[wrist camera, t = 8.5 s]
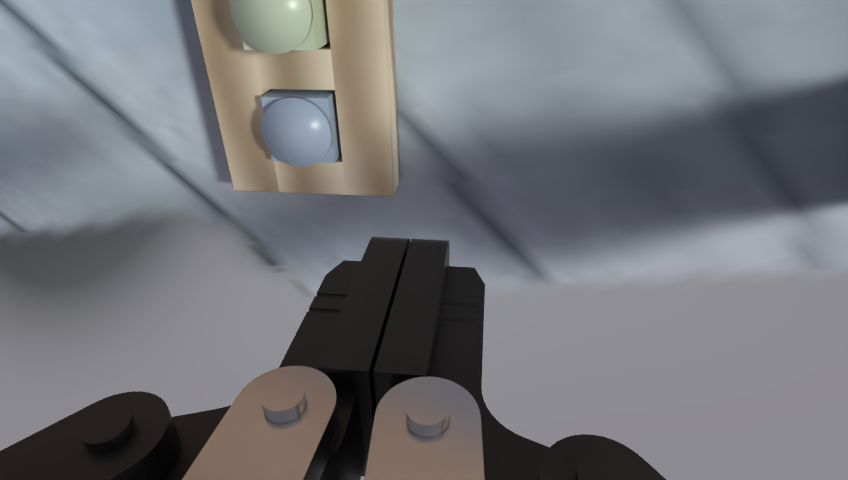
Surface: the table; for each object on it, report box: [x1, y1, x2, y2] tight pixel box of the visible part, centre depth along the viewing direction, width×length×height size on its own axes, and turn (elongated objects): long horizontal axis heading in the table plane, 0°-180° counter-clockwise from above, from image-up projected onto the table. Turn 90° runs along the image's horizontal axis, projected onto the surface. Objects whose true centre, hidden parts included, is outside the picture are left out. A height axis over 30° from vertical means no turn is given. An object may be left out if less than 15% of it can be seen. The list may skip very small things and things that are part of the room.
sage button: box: [229, 0, 328, 54], centre depth 30 cm, size 5×5×3 cm
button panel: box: [191, 0, 400, 197], centre depth 32 cm, size 12×25×3 cm, turn 1°
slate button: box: [261, 89, 341, 167], centre depth 34 cm, size 5×5×3 cm
